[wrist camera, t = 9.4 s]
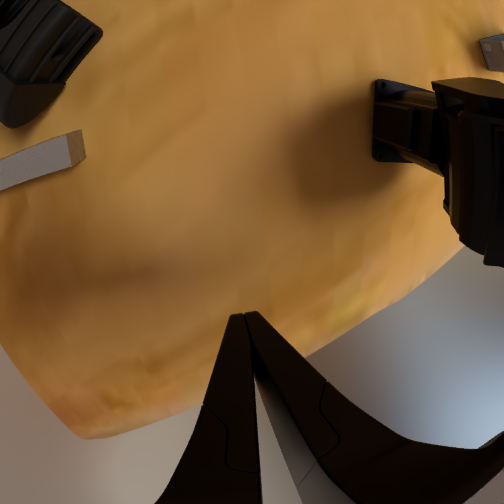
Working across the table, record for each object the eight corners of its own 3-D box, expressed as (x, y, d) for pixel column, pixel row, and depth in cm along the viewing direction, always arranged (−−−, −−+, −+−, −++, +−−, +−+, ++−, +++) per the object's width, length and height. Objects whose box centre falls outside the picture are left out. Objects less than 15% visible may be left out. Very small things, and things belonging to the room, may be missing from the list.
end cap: (-18, 62, 8) (-74, 67, 3) (36, -15, 7) (-11, -36, 1) (46, 121, 13) (-12, 140, 8) (111, 36, 11) (69, 11, 6)
